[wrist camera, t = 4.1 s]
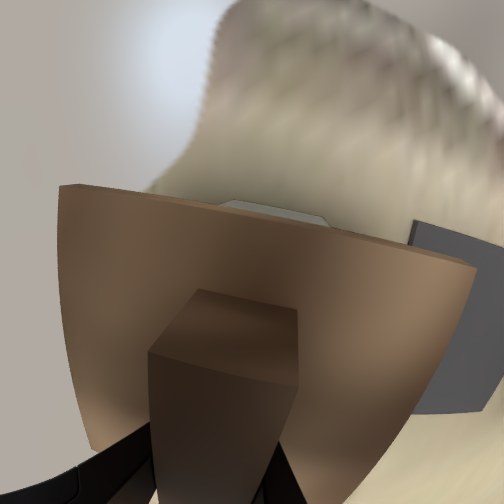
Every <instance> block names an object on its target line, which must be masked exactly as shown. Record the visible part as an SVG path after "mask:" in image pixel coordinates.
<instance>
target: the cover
mask: <svg viewBox="0 0 504 504" xmlns="http://www.w3.org/2000/svg"><path fill="white" fill-rule="evenodd" d="M57 254H58V279H59V293H60V305H61V314H62V323H63V330H64V337H65V344H66V350H67V356H68V361H69V366H70V372H71V376H72V381H73V385H74V389H75V394H76V398H77V402H78V405H79V410H80V413H81V417H82V420H83V424H84V427H85V430H86V433H87V437H88V440H89V443H90V446H91V449H92V450H95V451H97V452H99V453H100V452H101V451H103V450H105V449H106V448H108V447H110V446H111V445H113V444H115V443H116V442H118V441H120V440H121V439H123V438H124V437H126V436H127V435H129V434H131V433H132V432H134V431H135V430H137V429H138V428H140V427H142V426H143V425H145V424H146V423H148V422H149V421H150V430H151V443H152V453H153V463H154V472H155V480H156V487H157V494H158V501H159V504H251V502H252V500H253V498H254V496H255V493H256V491H257V489H258V487H259V485H260V483H261V480H262V478H263V476H264V474H265V471H266V469H267V467H268V465H269V462H270V460H271V458H272V455H273V453H274V451H275V448H276V446H277V443H278V441H280V443H281V446H282V448H283V450H284V453H285V455H286V457H287V459H288V462H289V464H290V466H291V469H292V471H293V473H294V475H295V477H296V480H297V482H298V484H299V486H300V488H301V491H302V493H303V495H304V497H305V499H306V501H307V503H308V504H342V503H343V502H344V501H345V500H346V499H347V498H348V497H349V496H350V495H351V494H352V492H353V491H354V490H355V489H356V488H357V487H358V486H359V484H360V483H361V482H362V481H363V480H364V479H365V477H366V476H367V475H368V474H369V472H370V471H371V470H372V469H373V468H374V466H375V465H376V464H377V462H378V461H379V460H380V459H381V457H382V456H383V455H384V453H385V452H386V451H387V449H388V448H389V446H390V445H391V444H392V442H393V441H394V439H395V438H396V436H397V435H398V434H399V432H400V431H401V429H402V428H403V426H404V425H405V423H406V422H407V420H408V418H409V417H410V415H411V414H412V412H413V410H414V409H415V407H416V406H417V404H418V402H419V400H420V399H421V397H422V395H423V394H424V392H425V390H426V388H427V387H428V385H429V383H430V381H431V379H432V377H433V375H434V374H435V372H436V370H437V368H438V366H439V364H440V362H441V360H442V358H443V356H444V354H445V351H446V349H447V347H448V345H449V343H450V341H451V338H452V336H453V334H454V331H455V329H456V327H457V324H458V322H459V319H460V317H461V314H462V312H463V309H464V307H465V304H466V301H467V299H468V296H469V293H470V290H471V287H472V284H473V281H474V278H475V275H476V272H477V268H476V267H474V266H472V265H471V264H469V263H467V262H465V261H463V260H462V259H459V258H455V257H451V256H448V255H444V254H440V253H436V252H432V251H428V250H425V249H421V248H417V247H413V246H409V245H405V244H401V243H396V242H392V241H388V240H384V239H380V238H375V237H371V236H367V235H363V234H358V233H354V232H349V231H345V230H340V229H336V228H331V227H327V226H322V225H317V224H313V223H308V222H303V221H298V220H293V219H288V218H283V217H278V216H273V215H268V214H263V213H258V212H253V211H247V210H242V209H237V208H231V207H226V206H220V205H215V204H209V203H203V202H197V201H191V200H185V199H179V198H173V197H167V196H161V195H154V194H148V193H141V192H134V191H127V190H121V189H114V188H106V187H99V186H92V185H84V184H73V185H63V186H59V200H58V225H57Z"/></svg>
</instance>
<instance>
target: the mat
mask: <svg viewBox="0 0 504 504" xmlns="http://www.w3.org/2000/svg"><path fill="white" fill-rule="evenodd" d="M408 245H409V246H413V247H417V248H421V249H425V250H428V251H432V252H436V253H440V254H444V255H448V256H451V257H455V258H459V259H462V260H463V261H465V262H467V263H469V264H471V265H472V266H474V267H476V268H477V272H476V275H475V278H474V281H473V284H472V287H471V290H470V293H469V296H468V299H467V301H466V304H465V307H464V309H463V312H462V314H461V317H460V319H459V322H458V324H457V327H456V329H455V331H454V334H453V336H452V338H451V341H450V343H449V345H448V347H447V349H446V351H445V354H444V356H443V358H442V360H441V362H440V364H439V366H438V368H437V370H436V372H435V374H434V375H433V377H432V379H431V381H430V383H429V385H428V387H427V388H426V390H425V392H424V394H423V395H422V397H421V399H420V400H419V402H418V404H417V406H416V407H415V409H414V410H413V412H412V414H452V413H468V412H479V411H482V410H483V408H484V407H485V405H486V404H487V402H488V401H489V399H490V397H491V396H492V394H493V392H494V391H495V389H496V387H497V386H498V384H499V382H500V381H501V379H502V377H503V375H504V248H502V247H499V246H496V245H493V244H491V243H488V242H485V241H482V240H479V239H476V238H473V237H470V236H467V235H463V234H460V233H457V232H454V231H451V230H447V229H444V228H441V227H437V226H434V225H431V224H427V223H424V222H420V221H417V220H414V223H413V227H412V231H411V235H410V239H409V243H408Z"/></svg>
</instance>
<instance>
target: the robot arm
mask: <svg viewBox="0 0 504 504" xmlns="http://www.w3.org/2000/svg"><path fill="white" fill-rule="evenodd" d="M156 489H157V487H156V480H155V472H154V463H153V453H152V443H151V430H150V421H149V422H148V423H146V424H145V425H143V426H142V427H140V428H138V429H137V430H135V431H134V432H132V433H131V434H129V435H127V436H126V437H124V438H123V439H121V440H120V441H118V442H116V443H115V444H113V445H111V446H110V447H108V448H106V449H105V450H103V451H101V452H100V453H98V454H96V455H95V456H93V457H91V458H89V459H88V460H86V461H85V462H83V463H81V464H79V465H78V466H77V467H73V468H72V469H70V470H68V471H66V472H64V473H62V474H60V475H58V476H56V477H54V478H52V479H49V480H47V481H44V482H41V483H39V484H36V485H33V486H30V487H27V488H23V489H20V490H17V491H13V492H10V493H6V494H2V495H0V504H149V502H150V500H151V498H152V496H153V494H154V492H155V490H156ZM251 504H308V503H307V501H306V499H305V497H304V495H303V493H302V491H301V488H300V486H299V484H298V482H297V480H296V477H295V475H294V473H293V471H292V469H291V466H290V464H289V462H288V459H287V457H286V455H285V453H284V450H283V448H282V446H281V443H280V441H278V443H277V446H276V448H275V451H274V453H273V455H272V458H271V460H270V462H269V465H268V467H267V469H266V471H265V474H264V476H263V478H262V480H261V483H260V485H259V487H258V489H257V491H256V493H255V496H254V498H253V500H252V502H251Z"/></svg>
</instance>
